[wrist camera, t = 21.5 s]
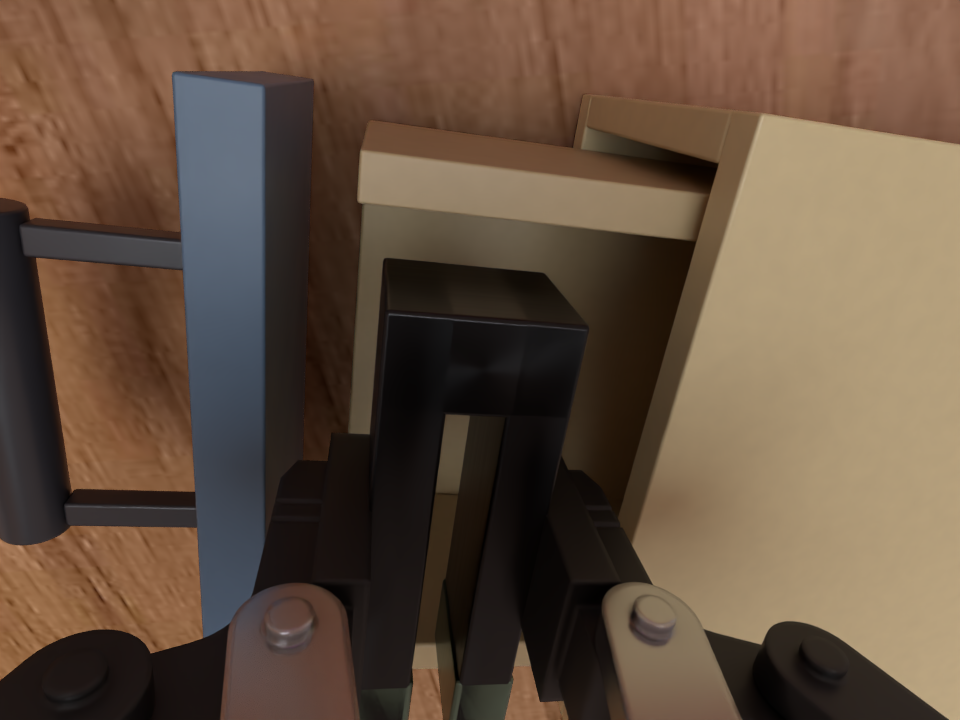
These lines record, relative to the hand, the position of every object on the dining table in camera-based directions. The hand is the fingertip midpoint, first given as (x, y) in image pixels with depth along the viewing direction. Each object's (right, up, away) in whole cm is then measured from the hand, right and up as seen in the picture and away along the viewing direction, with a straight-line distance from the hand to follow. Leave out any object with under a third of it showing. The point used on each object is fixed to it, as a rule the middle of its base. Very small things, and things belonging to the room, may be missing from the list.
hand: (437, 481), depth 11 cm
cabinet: (+11, +3, +9) cm, 14 cm away
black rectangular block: (0, 0, 0) cm, 0 cm away
